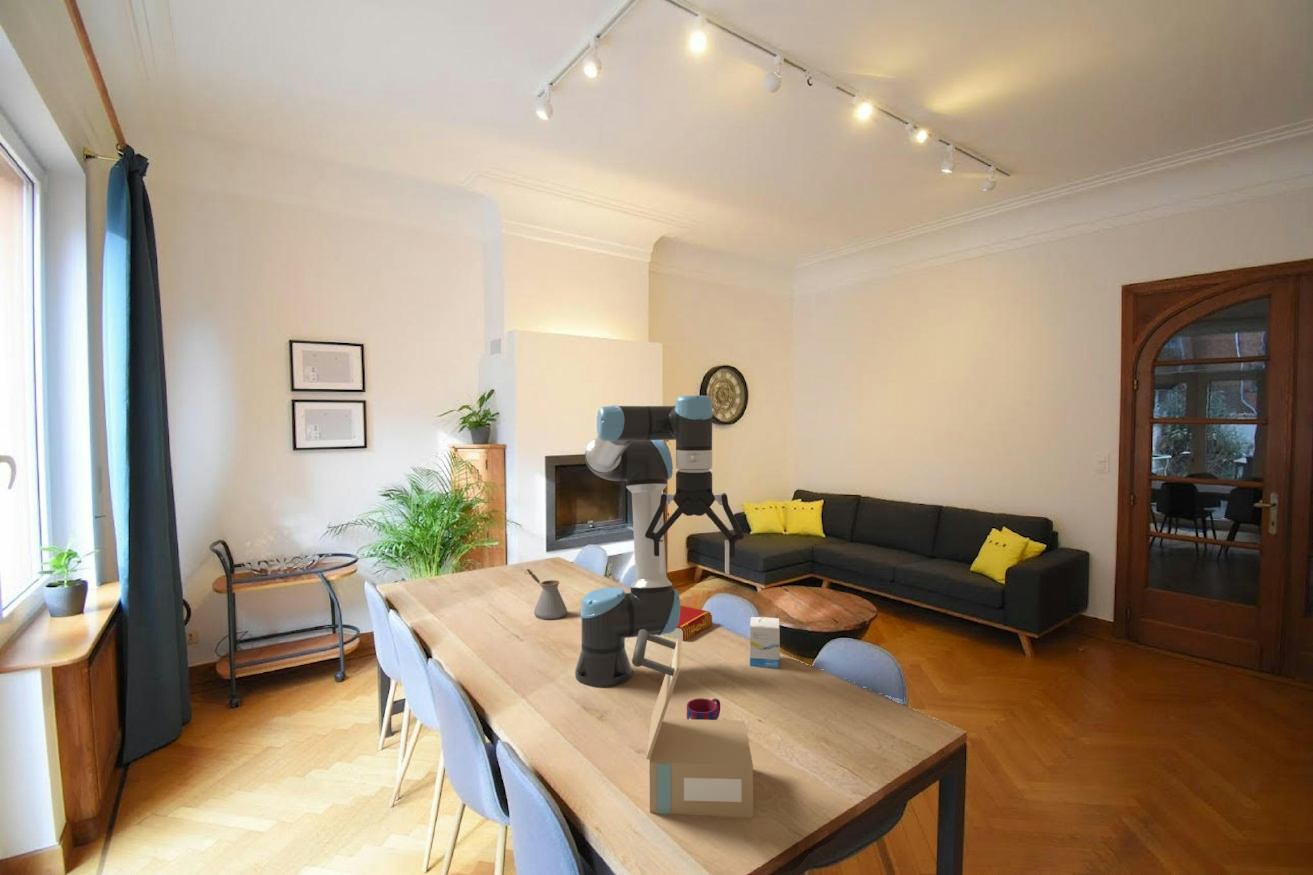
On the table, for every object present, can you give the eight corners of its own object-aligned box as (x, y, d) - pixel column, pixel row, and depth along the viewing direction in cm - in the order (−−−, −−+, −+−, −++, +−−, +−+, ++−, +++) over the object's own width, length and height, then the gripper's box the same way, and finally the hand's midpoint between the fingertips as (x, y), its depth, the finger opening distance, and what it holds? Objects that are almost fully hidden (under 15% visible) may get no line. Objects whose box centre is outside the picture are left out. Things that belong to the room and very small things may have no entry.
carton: (649, 819, 102) (649, 763, 102) (654, 767, 117) (654, 718, 117) (753, 822, 101) (753, 765, 101) (744, 769, 116) (744, 720, 116)
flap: (649, 759, 102) (604, 743, 103) (654, 717, 117) (614, 703, 117) (680, 668, 102) (634, 653, 102) (681, 637, 116) (641, 624, 116)
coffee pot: (573, 618, 205) (573, 576, 205) (545, 627, 197) (544, 583, 197) (540, 605, 221) (540, 565, 220) (513, 612, 213) (513, 571, 212)
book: (684, 643, 183) (684, 628, 183) (650, 635, 190) (650, 620, 190) (712, 626, 198) (712, 611, 198) (680, 619, 205) (680, 605, 205)
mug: (680, 735, 129) (680, 705, 129) (710, 719, 136) (710, 690, 136) (702, 747, 124) (702, 716, 124) (732, 730, 131) (732, 700, 131)
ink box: (779, 669, 163) (779, 627, 163) (749, 666, 165) (749, 625, 165) (779, 656, 172) (779, 617, 171) (750, 654, 173) (750, 615, 173)
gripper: (631, 471, 118) (632, 575, 119) (756, 472, 116) (756, 578, 116) (636, 468, 125) (636, 566, 126) (753, 468, 123) (753, 568, 124)
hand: (694, 572), depth 121 cm, fingers open, 13 cm apart
